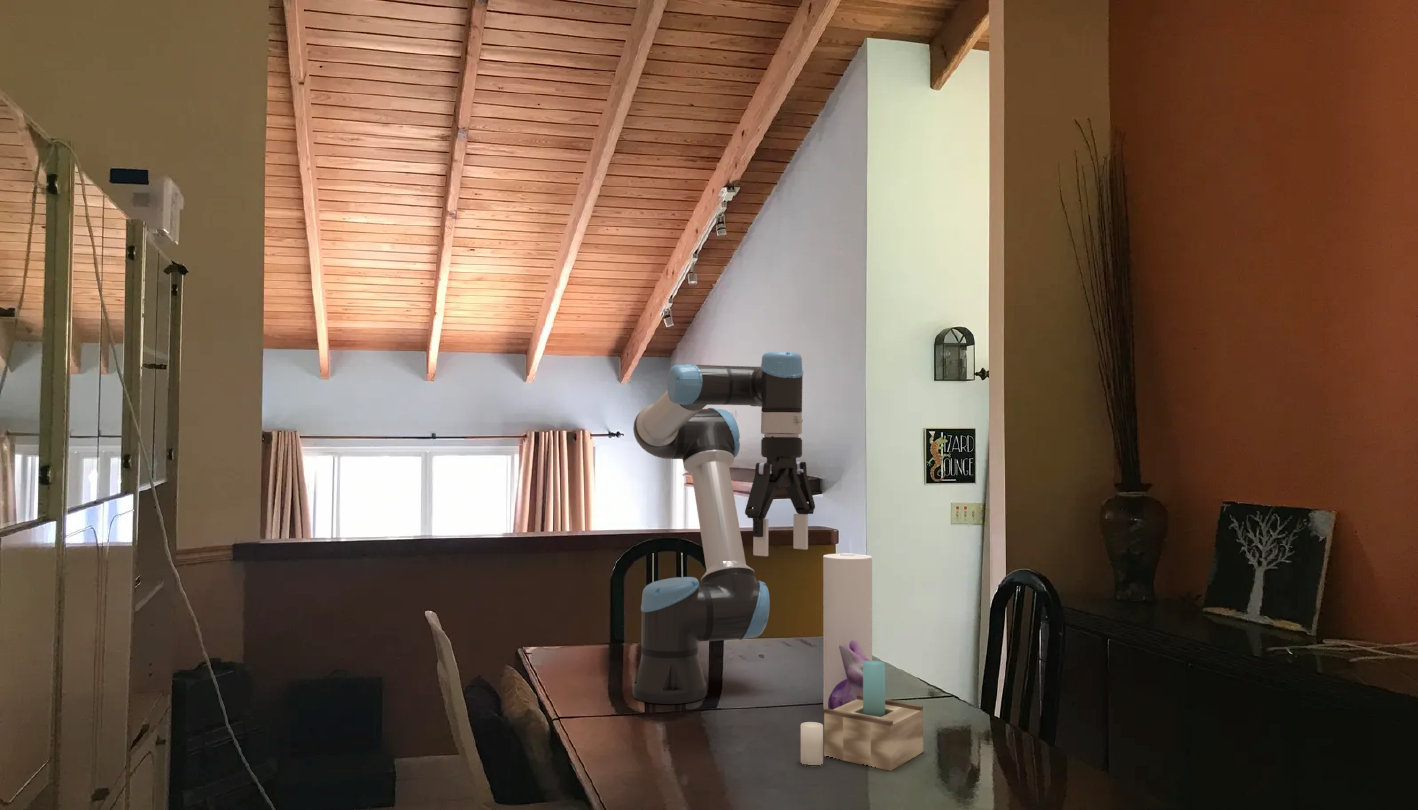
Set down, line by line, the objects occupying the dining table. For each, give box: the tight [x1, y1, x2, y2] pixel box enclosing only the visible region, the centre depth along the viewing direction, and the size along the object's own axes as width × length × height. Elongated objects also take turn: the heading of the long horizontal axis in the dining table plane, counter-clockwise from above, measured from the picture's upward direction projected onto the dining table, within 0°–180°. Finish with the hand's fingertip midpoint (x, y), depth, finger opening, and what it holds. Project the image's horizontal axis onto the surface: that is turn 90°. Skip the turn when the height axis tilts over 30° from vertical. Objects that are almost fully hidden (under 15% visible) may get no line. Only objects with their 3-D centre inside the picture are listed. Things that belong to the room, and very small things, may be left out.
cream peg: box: [800, 721, 824, 766], centre depth 159 cm, size 4×4×6 cm
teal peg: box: [863, 660, 886, 717], centre depth 163 cm, size 4×4×15 cm
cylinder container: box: [822, 552, 873, 710], centre depth 191 cm, size 9×9×30 cm
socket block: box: [823, 695, 924, 772], centre depth 163 cm, size 12×12×8 cm
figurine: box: [828, 640, 870, 710], centre depth 181 cm, size 9×10×15 cm
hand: (781, 552), depth 180 cm, fingers open, 13 cm apart
